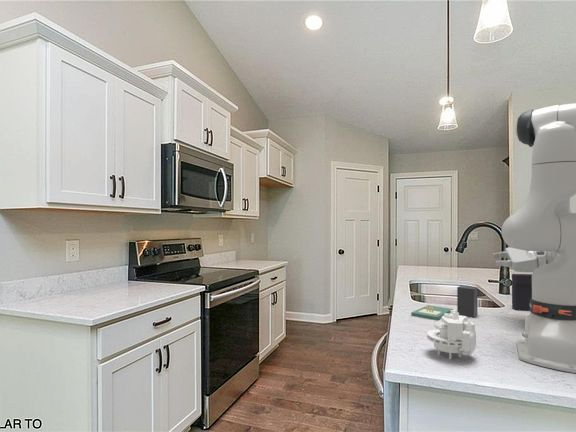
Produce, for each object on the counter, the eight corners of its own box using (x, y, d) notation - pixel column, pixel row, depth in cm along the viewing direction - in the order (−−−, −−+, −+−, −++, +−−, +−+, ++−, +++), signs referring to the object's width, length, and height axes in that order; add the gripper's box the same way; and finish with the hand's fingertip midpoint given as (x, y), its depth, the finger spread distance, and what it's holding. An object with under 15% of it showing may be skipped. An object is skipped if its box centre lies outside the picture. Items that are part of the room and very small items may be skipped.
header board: (437, 320, 130) (437, 311, 130) (411, 315, 136) (411, 307, 136) (452, 311, 143) (452, 303, 143) (428, 307, 150) (428, 300, 150)
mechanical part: (432, 345, 102) (432, 304, 103) (478, 354, 96) (478, 310, 96) (422, 357, 93) (422, 312, 94) (472, 367, 86) (472, 319, 87)
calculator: (538, 309, 149) (537, 273, 150) (544, 311, 145) (544, 275, 145) (510, 308, 150) (510, 273, 151) (516, 310, 146) (516, 274, 146)
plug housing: (474, 318, 134) (473, 289, 134) (457, 315, 138) (457, 287, 138) (477, 315, 137) (477, 287, 138) (461, 312, 141) (461, 285, 142)
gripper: (532, 242, 133) (491, 244, 140) (545, 256, 115) (496, 258, 121) (533, 258, 134) (492, 259, 140) (546, 275, 116) (498, 276, 122)
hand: (494, 259), depth 131 cm, fingers open, 8 cm apart
